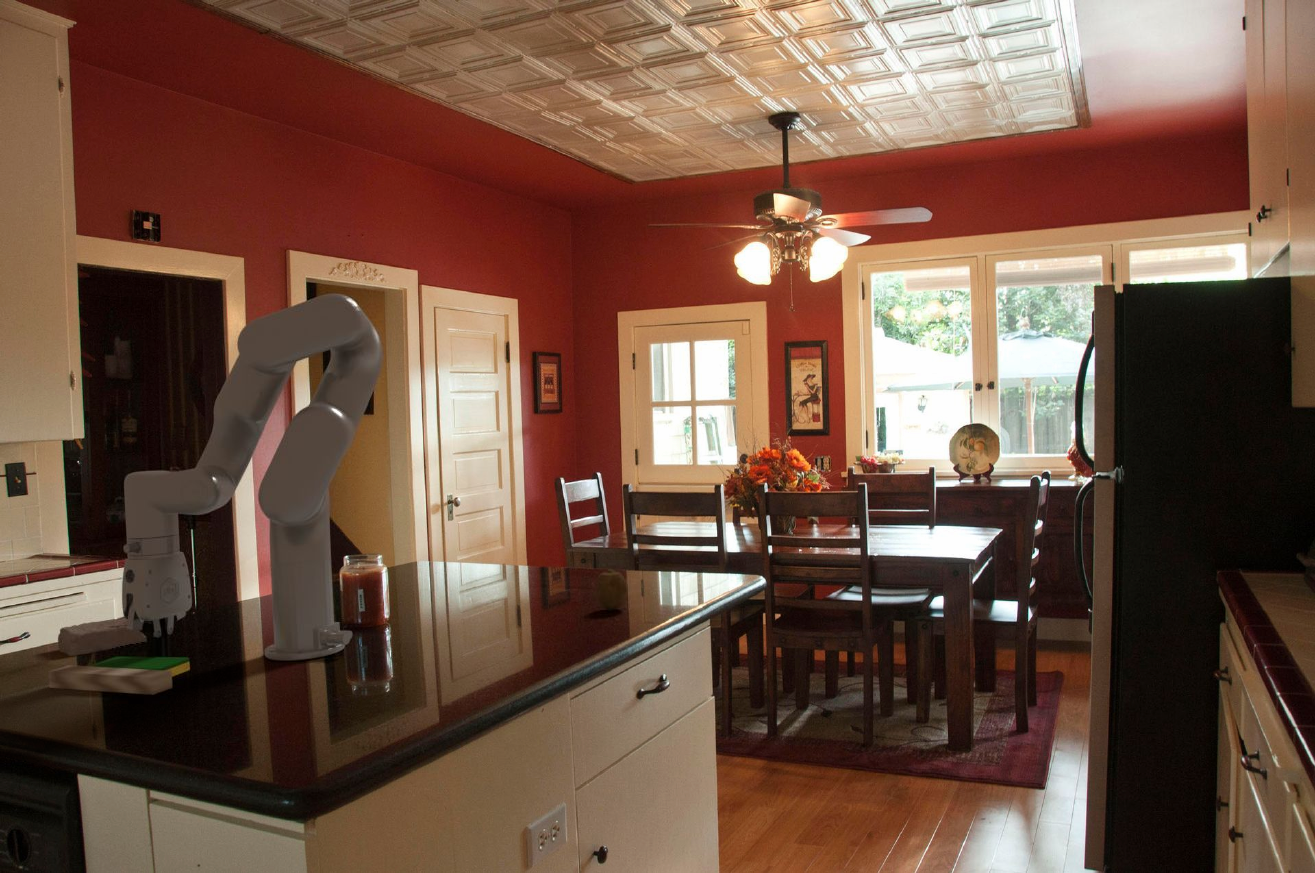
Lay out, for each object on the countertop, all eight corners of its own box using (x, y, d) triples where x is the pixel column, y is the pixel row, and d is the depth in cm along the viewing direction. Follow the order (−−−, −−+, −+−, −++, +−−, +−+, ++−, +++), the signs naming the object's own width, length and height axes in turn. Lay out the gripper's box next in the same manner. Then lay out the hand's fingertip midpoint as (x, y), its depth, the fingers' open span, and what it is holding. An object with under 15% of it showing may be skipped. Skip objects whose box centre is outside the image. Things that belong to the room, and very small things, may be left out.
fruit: (628, 606, 190) (626, 565, 190) (628, 612, 184) (626, 570, 184) (596, 607, 190) (594, 567, 190) (595, 614, 184) (593, 572, 184)
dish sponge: (117, 670, 157) (116, 655, 157) (191, 672, 154) (190, 656, 154) (82, 683, 151) (81, 667, 150) (159, 684, 148) (158, 668, 147)
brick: (72, 658, 167) (71, 631, 167) (56, 651, 172) (55, 625, 172) (172, 639, 179) (171, 614, 179) (154, 634, 185) (153, 609, 185)
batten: (172, 687, 143) (171, 670, 143) (153, 694, 140) (152, 677, 140) (70, 681, 150) (69, 665, 150) (49, 687, 146) (48, 671, 146)
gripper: (132, 554, 149) (138, 673, 149) (207, 541, 163) (212, 649, 163) (95, 553, 151) (101, 670, 152) (172, 540, 165) (177, 647, 166)
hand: (159, 659), depth 157 cm, fingers closed
